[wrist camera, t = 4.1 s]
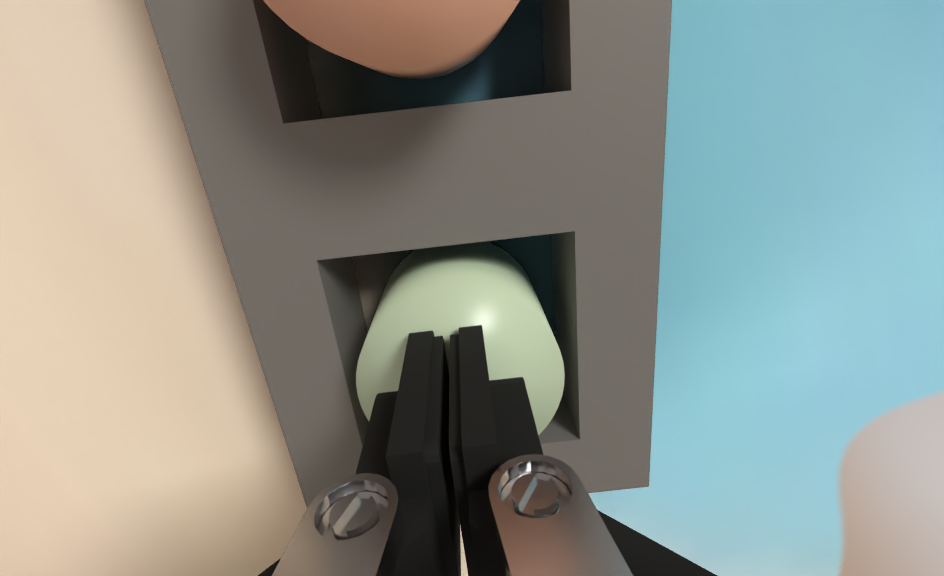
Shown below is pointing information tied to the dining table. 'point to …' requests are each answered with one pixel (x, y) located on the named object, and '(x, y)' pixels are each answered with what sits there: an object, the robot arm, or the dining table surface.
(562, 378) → the sage button
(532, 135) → the button panel
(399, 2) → the peach rounded dome
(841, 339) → the dining table surface
